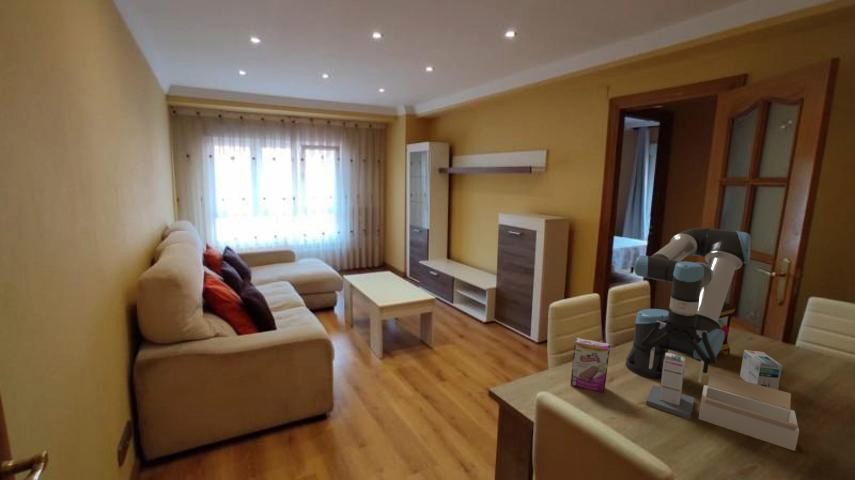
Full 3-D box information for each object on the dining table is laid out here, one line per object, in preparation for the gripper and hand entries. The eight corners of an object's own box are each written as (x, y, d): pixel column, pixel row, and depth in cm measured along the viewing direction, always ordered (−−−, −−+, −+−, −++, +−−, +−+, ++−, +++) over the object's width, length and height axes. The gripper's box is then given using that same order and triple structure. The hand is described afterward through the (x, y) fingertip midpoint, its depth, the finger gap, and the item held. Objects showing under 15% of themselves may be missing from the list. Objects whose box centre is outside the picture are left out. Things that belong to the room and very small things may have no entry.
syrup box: (679, 406, 125) (685, 363, 122) (658, 399, 128) (663, 358, 126) (680, 397, 130) (686, 356, 127) (659, 391, 133) (665, 351, 130)
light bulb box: (778, 394, 136) (783, 365, 134) (755, 391, 137) (761, 362, 135) (759, 378, 146) (764, 351, 144) (738, 376, 147) (743, 349, 146)
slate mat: (645, 404, 128) (646, 400, 128) (652, 389, 137) (652, 385, 137) (689, 419, 121) (690, 415, 121) (693, 401, 130) (694, 397, 130)
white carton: (697, 425, 118) (701, 396, 116) (702, 396, 134) (706, 370, 132) (796, 459, 105) (803, 427, 103) (789, 422, 120) (795, 394, 119)
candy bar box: (570, 386, 138) (574, 342, 135) (571, 379, 143) (575, 336, 140) (605, 394, 134) (610, 349, 131) (605, 387, 138) (610, 343, 135)
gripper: (636, 305, 128) (629, 366, 132) (732, 325, 113) (721, 392, 117) (641, 299, 134) (634, 357, 138) (733, 317, 119) (722, 382, 123)
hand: (674, 374), depth 127 cm, fingers open, 13 cm apart
